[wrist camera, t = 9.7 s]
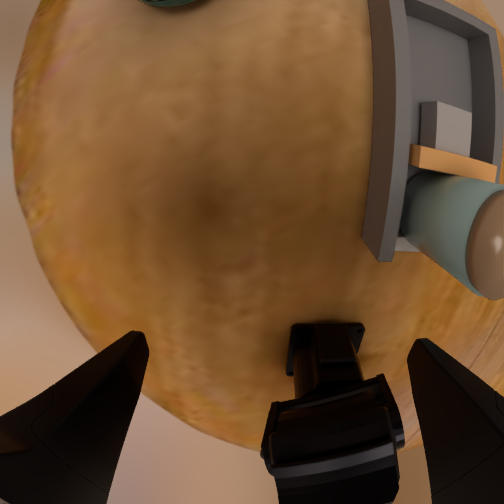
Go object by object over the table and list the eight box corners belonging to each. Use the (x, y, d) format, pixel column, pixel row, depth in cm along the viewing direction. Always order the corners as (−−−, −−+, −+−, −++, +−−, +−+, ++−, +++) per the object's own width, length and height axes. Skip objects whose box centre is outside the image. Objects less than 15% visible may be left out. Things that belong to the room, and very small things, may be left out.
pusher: (466, 172, 15) (494, 184, 12) (394, 158, 15) (419, 167, 12) (470, 118, 13) (500, 121, 10) (397, 96, 14) (422, 92, 11)
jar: (453, 252, 17) (521, 300, 9) (393, 248, 17) (457, 307, 9) (464, 178, 15) (544, 198, 7) (402, 165, 15) (484, 177, 8)
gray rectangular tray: (456, 242, 19) (479, 262, 15) (361, 238, 19) (377, 261, 16) (468, 35, 11) (495, 29, 7) (367, -2, 11) (385, -22, 8)
